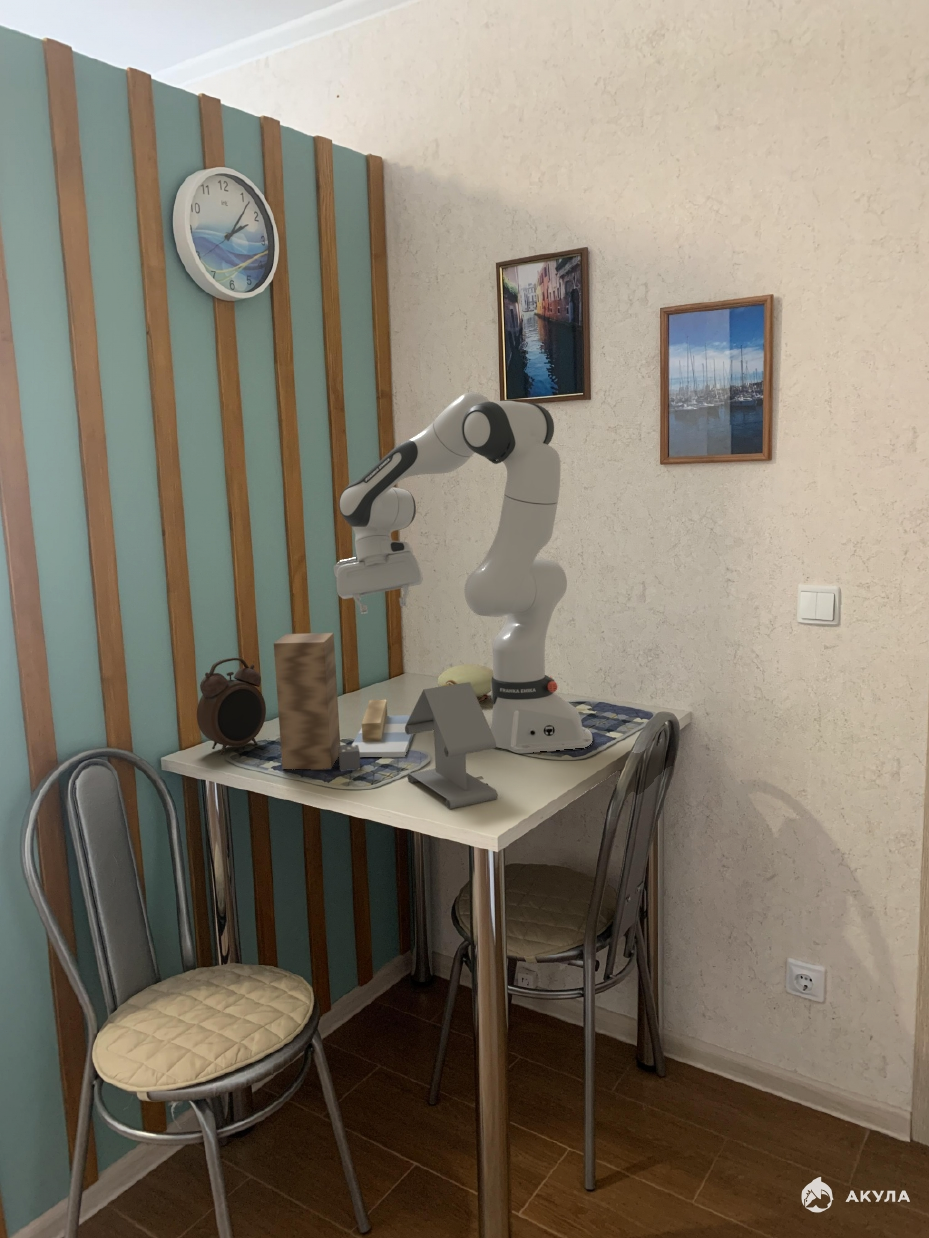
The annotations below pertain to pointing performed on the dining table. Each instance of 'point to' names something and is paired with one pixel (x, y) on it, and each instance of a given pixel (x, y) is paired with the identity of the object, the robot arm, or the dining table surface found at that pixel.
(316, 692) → the walnut stand
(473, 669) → the flask
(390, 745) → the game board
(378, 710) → the light wooden block
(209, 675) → the alarm clock
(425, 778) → the phone stand
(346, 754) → the die
